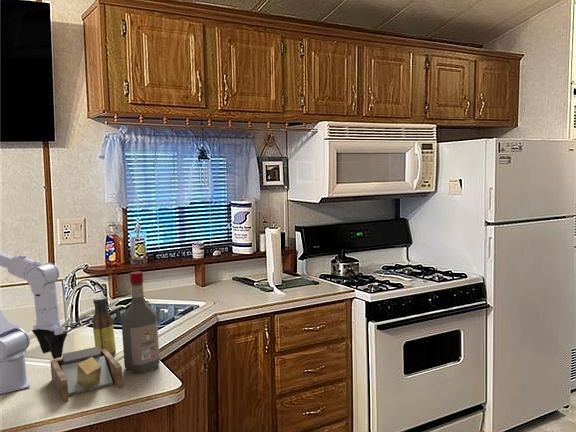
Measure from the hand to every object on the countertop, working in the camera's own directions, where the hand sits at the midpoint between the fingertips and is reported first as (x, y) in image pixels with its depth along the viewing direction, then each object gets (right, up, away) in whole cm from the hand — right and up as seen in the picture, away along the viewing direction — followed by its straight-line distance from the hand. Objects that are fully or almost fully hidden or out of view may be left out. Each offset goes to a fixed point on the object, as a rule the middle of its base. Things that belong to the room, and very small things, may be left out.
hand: (52, 355), depth 147 cm
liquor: (+21, -8, +16) cm, 28 cm away
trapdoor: (+7, -7, +6) cm, 12 cm away
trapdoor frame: (+8, -10, +5) cm, 13 cm away
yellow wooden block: (+10, -8, +2) cm, 13 cm away
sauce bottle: (+6, -8, +27) cm, 28 cm away
